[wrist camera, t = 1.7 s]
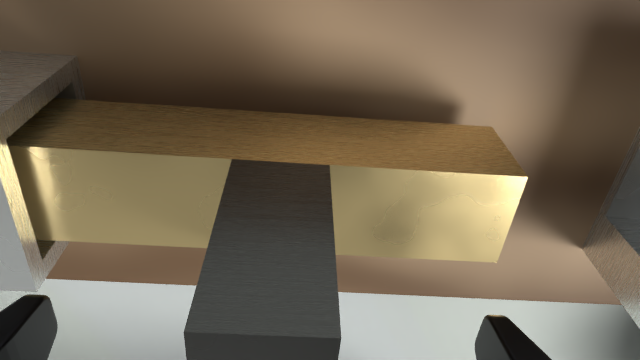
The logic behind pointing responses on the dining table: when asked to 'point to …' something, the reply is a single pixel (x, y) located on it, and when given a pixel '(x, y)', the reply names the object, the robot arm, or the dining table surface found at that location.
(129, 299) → the dining table surface
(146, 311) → the dining table surface
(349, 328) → the dining table surface
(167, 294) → the dining table surface
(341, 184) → the brass t-shaped handle
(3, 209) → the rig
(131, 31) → the board
